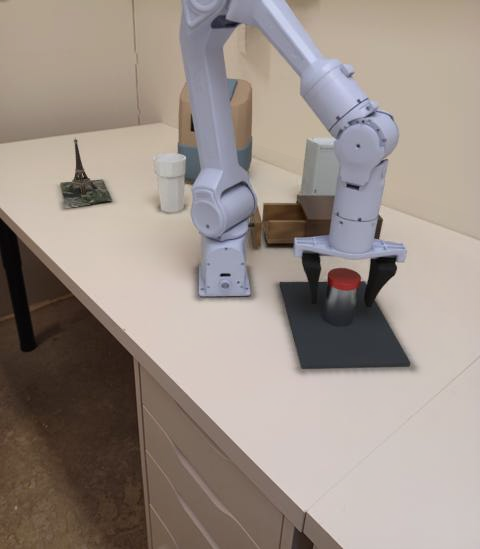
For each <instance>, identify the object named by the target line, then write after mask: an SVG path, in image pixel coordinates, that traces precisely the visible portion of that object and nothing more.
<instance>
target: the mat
mask: <svg viewBox="0 0 480 549" xmlns="http://www.w3.org/2000/svg"><path fill="white" fill-rule="evenodd" d="M366 285H367V282H366V281H365V280H361V282H360V286H359V291H358V296H357V301H356V307H355V312H354V317H353V321H352V323H351V324H349V325H347V326H334V325H331V324H329V323H327V322H326V321H325V320H324V319H323V317H322V313H323V306H324V299H325V293H326V286H327V281H319V283H318V291H317V302H316V304H311V300H310V286H309V282H308V281H279V288H280V292H281V295H282V299H283V303H284V307H285V311H286V314H287V317H288V322H289V325H290V329H291V333H292V336H293V341H294V343H295V347H296V351H297V355H298V359H299V362H300V367H301V369H305V370H306V369H307V370H308V369H309V370H310V369H344V368H345V369H346V368H391V367H392V368H393V367H395V368H396V367H410V366H411V361H410V359H409V358H408V356H407V354H406V352H405V350H404V348H403V347H402V345H401V343H400V341H399V340H398V338H397V336H396V334H395V333H394V331H393V329H392V327H391V326H390V324H389V322H388V320H387V318H386V317H385V315H384V313H383V311H382V310H381V308H380V306H379V304H378V303H377V301H376V299H375V300H374V302H373V304H372V306H371V307H366V304H365V301H364V294H365V289H366Z"/></svg>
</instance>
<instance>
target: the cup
mask: <svg viewBox="0 0 480 549" xmlns="http://www.w3.org/2000/svg"><path fill="white" fill-rule="evenodd" d="M152 160H153V169H154V173H155V175H156V180H157V190H158V198H159V209H160V210H161V212H166V213H179V212H181V211H182V210H184V209H185V205H184V204H185V180H184V176H185V172H186V157H185V156H184V155H181V154H178V153H176V152H165V153H164V152H163V153H159V154H156V155H154V156H153V158H152Z"/></svg>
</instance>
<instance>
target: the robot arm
mask: <svg viewBox="0 0 480 549" xmlns="http://www.w3.org/2000/svg"><path fill="white" fill-rule="evenodd" d="M180 3H181V15H180V23H179V32H178V36H179V47H180V52H181V57H182V64H183V69H184V75H185V79H186V80H185V83H186V82H187V88H188V94H189V100H190V106H191V112H192V118H193V124H194V130H195V136H196V142H197V148H198V154H199V160H200V166H201V171H200V173H199V175H198V177H197V179H196V181H195V182H194V184H193V183H192V186H191V195H192V196H191V197H192V199H191V200H192V202H191V207H190V218H191V221H192V223H193V225H194V227H195V229H196V230H197V231H198V234H199V235H200V249H201V250H200V259H201V260H200V262H201V263H200V264H199V265H198V296H199V297H249V296H251V293H252V292H251V286H250V280H249V275H248V267H247V251H248V230H249V229H248V228H249V227H248V225H249V219H250V217H251V216H252V215H253V214H254V213H255V211H256V209H257V205H258V197H257V194H256V192H255V190H254V188H253V187H252V184H251V181H250V174H249V172H248V171H245V170H244V169H243V168H242V167H241V166H240V165H239V164H238V159H237V151H236V143H235V136H234V128H233V121H232V113H231V106H230V98H229V91H228V83H227V78H228V76H227V70H226V61H225V54H224V46H225V44H226V43H227V41H228V40H229V39H230V37H231V36H232V35H233V33H234V32H235V30H237V28H239V27H240V26H241V25H247V26H250V27H251V26H252V27H255V28H257V29H258V30H259V31H260V33H261V34H262V35H263V36H264V37H265V39H266V40H267V41H268V42H269V43H270V44H271V46H272V47H273V48H274V49H275V50H276V52H278V54H279V55H280V56H281V57H282V58H283V60H284V61H285V62H286V63H287V64H288V65H289V67H291V69H292V70H293V71H294V73H296V74H297V76H298V77H299V78H300V81H299V82H300V83H299V94H300V96H301V98H302V99H303V100H304V102H305V103H306V104H307V106H308V107H309V108H310V110H311V111H312V112H313V113H314V115H315V116H316V118H318V120H319V121H320V123H321V124H322V126H324V128H325V130H326V131H327V132H328V134H330V135H331V138H335V139H336V140H335V141H334V151H335V155H336V157H337V159H338V161H339V163H340V166H339V173H338V177H337V184H336V191H335V198H334V205H333V212H332V219H331V226H330V233H329V235H325V236H316V237H307V238H294V243H293V248H292V250H293V257H294V258H301V265H302V268H303V271H304V274H305V276H306V279H307V282H309V286H310V300H311V304H316V302H317V291H318V283H319V282H320V277H321V274H322V264H321V261H322V259H321V257H333V258H334V257H335V258H339V259H340V258H341V259H345V260H351V261H358V260H359V261H360V260H367V259H369V260H370V261H369V271H368V277H367V281H366V289H365V294H364V301H365V304H366V307H371V306H372V304H373V302H374V300H375V301H376V298H377V297H378V295H379V293H380V292H381V290H383V288H384V287H385V285H386V284H388V282H389V281H390V280H391V279H392V278H394V277H395V276H396V274H397V272H398V265H397V264H396V263H399V264H400V263H404V264H405V263H406V262H405V261H406V258H407V252H408V248H407V247H406V245H405V243H404V242H394V241H388V240H385V239H384V240H383V239H380V238H379V239H374V235H375V230H376V225H377V220H378V215H380V210H381V206H382V199H383V194H384V191H385V190H384V189H385V185H386V177H387V176H386V175H387V171H388V166H389V161H390V160H389V159H388V157H389V156H390V155H391V154H392V153H393V152H394V150H395V149H396V148H397V146H398V143H399V140H400V130H399V126H398V124H397V122H396V120H395V117H394V115H393V114H392V113H391V112H388V111H387V110H385V109H379V108H380V104H379V103H378V102H377V100H375V99H372V100H371V99H370V98H369V96H368V95H367V94H366V93H365V92H364V90H363V89H362V87H361V86H360V85H359V84H358V81H356V79H355V78H354V77H353V75H354V74H355V73H356V70H355V69H354V68H353V66H352V65H351V64H350V63H344V64H343V63H342V61H341V60H340V59H339V58H326V57H324V56H323V54H322V53H321V52H320V50H319V48H318V47H317V46H316V44H315V43H314V41H313V39H312V38H311V37H310V35H309V34H308V32H307V30H306V29H305V28H304V26H303V25H302V23H301V22H300V21H299V19H298V18H297V16H296V15H295V13H294V11H293V10H292V9H291V8H290V6H289V4H288V2H287V1H286V0H180Z"/></svg>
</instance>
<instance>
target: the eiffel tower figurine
mask: <svg viewBox="0 0 480 549" xmlns="http://www.w3.org/2000/svg"><path fill="white" fill-rule="evenodd" d="M73 143H74V152H75V154H74V155H75V169H74V171H75V172H74V176H73V179H72V180H71V181H62V182H60V189H61V193H62V197H63V204H64V209H71V208H72V209H73V208H78V207H84V206H89V205H94V204H98V203H103V202H109V201H113V198H112V196H111V194H110V192H109V190H108V187H107V185H106V184H105V181H104V179H92V180H91V177H88V175H87V173H86V171H85V168H84V166H83V162H82V159H81V155H80V150H79V146H78V145H79V144H78V143H79V142H78V139H77V138H74V140H73Z"/></svg>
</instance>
